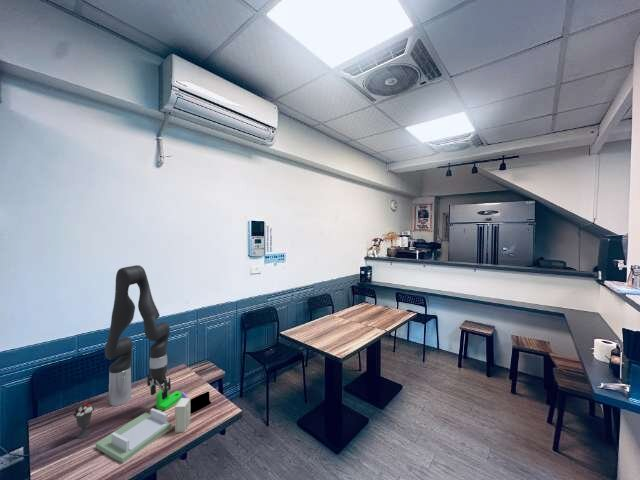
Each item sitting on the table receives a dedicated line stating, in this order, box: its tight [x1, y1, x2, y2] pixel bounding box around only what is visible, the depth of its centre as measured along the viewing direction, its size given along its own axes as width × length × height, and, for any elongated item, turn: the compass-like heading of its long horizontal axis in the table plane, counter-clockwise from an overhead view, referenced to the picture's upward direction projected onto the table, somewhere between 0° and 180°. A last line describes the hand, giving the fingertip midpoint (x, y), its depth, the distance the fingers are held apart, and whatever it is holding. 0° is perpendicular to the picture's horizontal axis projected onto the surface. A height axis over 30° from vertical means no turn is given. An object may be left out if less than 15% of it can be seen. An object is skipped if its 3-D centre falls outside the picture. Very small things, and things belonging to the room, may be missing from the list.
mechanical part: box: [155, 389, 183, 411], centre depth 134 cm, size 12×6×8 cm, turn 161°
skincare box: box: [174, 397, 191, 433], centre depth 116 cm, size 6×4×12 cm
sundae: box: [72, 398, 95, 440], centre depth 112 cm, size 7×7×15 cm
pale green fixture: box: [95, 407, 172, 464], centre depth 111 cm, size 18×20×6 cm
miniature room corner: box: [181, 391, 212, 415], centre depth 133 cm, size 12×12×7 cm
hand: (158, 396), depth 128 cm, fingers open, 8 cm apart
